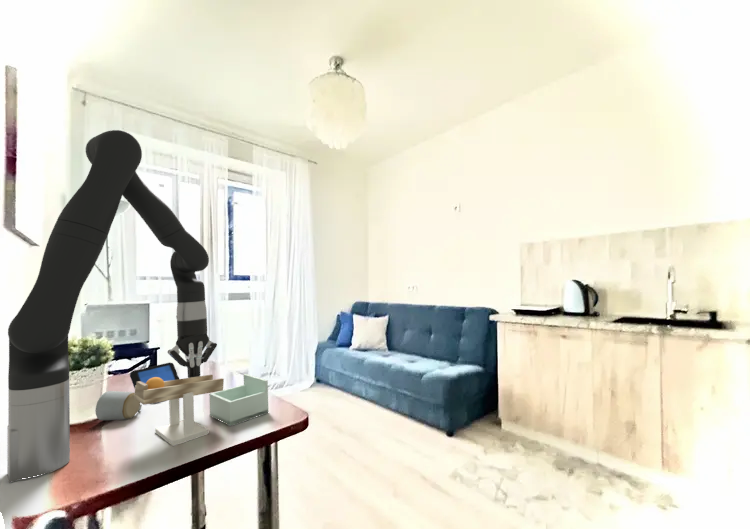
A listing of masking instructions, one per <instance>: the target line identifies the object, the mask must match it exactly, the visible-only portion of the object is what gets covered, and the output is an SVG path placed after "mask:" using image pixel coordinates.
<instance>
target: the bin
mask: <svg viewBox="0 0 750 529" xmlns="http://www.w3.org/2000/svg"><path fill="white" fill-rule="evenodd" d="M268 381H269V380H268V379H264V378H261V377H257V376H254V375H251V374H247V373H244V374H243V384H242V385H238V386H233V387H229V388H226V389H223V391H217V392H212V393H208V394H209V395H208V396H209V416H210V415H211V416H210V417H212V416H213V417H212V418H214V417H215V418H214V419H216V418H217V419H219V420H221V421H223V422H225V423H227V424H228V425H227V424H226V425H227V426H229V425H230V426H229V427H232V426H235V425H238V424H241V423H244V422H246V420H247V421H249V419H250V420H252V419H255V418H257V417H256V416H258V417H260V416H259V415H261V416H263V415H262V414H264V415H266V414H265V413H267V414H269V413H268V412H269V411H270V410H269V386H268V383H269V382H268ZM254 417H255V418H254ZM251 418H252V419H251ZM217 419H216V420H217ZM219 420H218V421H219ZM221 421H220V422H221ZM243 421H244V422H243ZM223 422H222V423H223ZM225 423H224V424H225ZM237 423H238V424H237ZM234 424H235V425H234ZM231 425H232V426H231Z"/></svg>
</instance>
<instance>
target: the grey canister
mask: <svg viewBox="0 0 750 529" xmlns="http://www.w3.org/2000/svg"><path fill="white" fill-rule="evenodd" d="M134 394H135V392H133V391H122V390H121V391H118V390H116V391H115V390H107V391H105V392H104V393H102V394H101V395H100V397H99V398H98V400H97V402H96V404H95V405H96V406H95V415H96V418H97V419H98V420H99V421H119V420H120V421H121V420H123V421H124V420H129V419H131V418H134V417H135V416H136V414H137V413H138V412H139V411H141V410H142V406H143V404H141V403H140V402H139V401H137V400H136V399H134Z"/></svg>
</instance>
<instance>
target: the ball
mask: <svg viewBox="0 0 750 529" xmlns="http://www.w3.org/2000/svg"><path fill="white" fill-rule="evenodd" d="M146 384H147V385H148V389H155V388H161V387H164V381H163V380H162V379H161V378H159V377H153V378H151V379H149V380H148V381H147V382H146Z"/></svg>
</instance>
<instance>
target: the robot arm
mask: <svg viewBox="0 0 750 529" xmlns="http://www.w3.org/2000/svg"><path fill="white" fill-rule="evenodd" d="M142 152H143V151H142V147H141V144H140V143H139V140H137V138H136V137H135V136H133V134H131V133H130V132H127V131H125V130H119V129H116V130H115V129H113V130H112V129H111V130H108V131H104V132H102V133H99V134H98V135H96V136H94V137H91V138H90V139H89V140H88V142H87V143H86V145H85V156H86V157H87V159H88V162H90V165H91V166H90V169H89V172H88V174H87V176H86V177H85V180H84V181H83V183H82V184H81V185H80V187H79V188H78V190H76V192H75V193H74V194H73V195H72V196H71V198H70V199H69V200H68V202H66V204H65V206H64V208H62V210H61V212H60V214H59V215H58V217H57V219H56V222H55V224H54V226H53V227H52V230H51V232H50V235H49V237H48V240H47V243H46V245H45V250H44V251H43V254H42V259H41V262H40V269H39V270H38V272H39V273H38V275H37V277H36V279H35V283H34V285H33V287H32V289H31V291H30V292H29V294H28V296H27V298H26V299H25V301H24V303H23V304H22V306H21V307H20V309H19V311H18V313H17V314H16V315H15V316H14V317H13V319H11V321H10V324H9V325H8V329H7V336H8V373H7V374H8V375H7V376H8V377H7V379H8V382H7V383H8V385H7V386H8V394H7V395H8V399H7V400H8V401H7V402H8V409H7V410H8V413H7V414H8V418H7V419H8V421H7V422H8V425H7V433H6V434H7V445H6V446H7V450H6V451H7V453H6V454H7V455H6V459H7V460H6V461H7V466H6V467H7V472H6V473H7V478H8V482H9V483H13V482H16V480H17V481H20V480H19V479H22V478H28V477H33V476H37V475H41V474H44V473H47V474H49V473H48V472H50V473H52V472H54V471H56V470H59V469H61V468H63V467H64V466H65V465H67V464H68V463H69V462H70V458H71V457H70V454H71V444H70V443H71V437H70V436H71V435H70V434H71V433H70V432H71V431H70V430H71V429H70V427H71V426H70V425H71V423H70V420H71V419H70V417H71V416H70V403H71V402H70V358H69V334H70V329H71V326H72V322H73V317H74V315H75V314H74V313H75V310H76V306H77V303H78V299H79V297H80V294H81V290H82V288H83V286H84V285H85V282H86V281H87V279H88V277H89V275H90V274H91V272H92V270H93V269H94V267H95V265H96V264H97V261H98V259H99V256H100V255H101V252H102V250H103V248H104V246H105V243H106V241H107V238H108V236H109V233H110V230H111V227H112V224H113V221H114V219H115V218H116V215H117V211H118V209H119V206H120V204H121V200H122V197H123V198H124V199H125V200H126V201H127V202H128V203H129V205H130V206H131V207H132V208H133V209H134V210H135V211H136V213H137V214H138V216H140V218H141V219H142V220H143V222H144V223H145V224H146V226H148V228H149V230H150V231H151V232H152V234H153V235H154V236H155V238H156V239H157V240H158V242H159V243H160V244H161V245H163V246H164V247H167V248H170V249H172V250H174V251H173V252H172V254H171V258H170V261H169V263H170V270H171V274H172V276H173V281H174V284H175V286H176V298H177V300H176V303H177V304H176V316H175V318H176V331H177V332H176V333H177V339H176V341H175V346H174V347H173V348H171V349H169V350H167V354H168V355H169V356H170V357H171V358H172V359H173V360H174V361H175V362H177V363H178V365H180V366H182V367H186V368H187V378H191V377H198V376H201V365H202V364H204V363H207V362H208V360H209V359H210V357H211V355H212V354H213V352H214V351H215V349H216V348H217V346H218V344H217V342H213V341H212V340H210V337H209V335H208V317H207V316H208V315H207V313H208V312H207V310H208V309H207V305H206V304H207V303H206V289H205V283H204V282H202V281H201V280H198V279H197V276H196V272H201V271H204V270H206V268H207V267H208V265H209V262H210V257H209V254H208V252H207V250H206V248H205V247H204V246H203V245H202V244H201V243H200V242H199V241H198V240H197V239H196V238H195V237H194V236H193V235H192V234H190V233H189V232H188V231H187V230H186V229H185V227H184V226H183V224H182V223H181V221H180V220H179V219H178V217H177V216H176V215H175V213H174V212H173V210H172V209H171V208H170V207H169V206H168V205H167V204H166V203H165V201H163V200H162V199H161V198H160V197H158V195H156V194H155V193H154V192H153V191H152V190H151V189H150V188H149V187H148V186H147V184H145V183H144V182H143V180H142V179H141V178H140V176H139V174H138V173H137V169H138V167H139V165H140V163H141V162H142V155H143V153H142ZM180 351H181V353H183V354H184V358H185V359H184V358H183V357H182V356H181V355H180ZM44 475H45V474H44ZM41 476H42V475H41Z"/></svg>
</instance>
